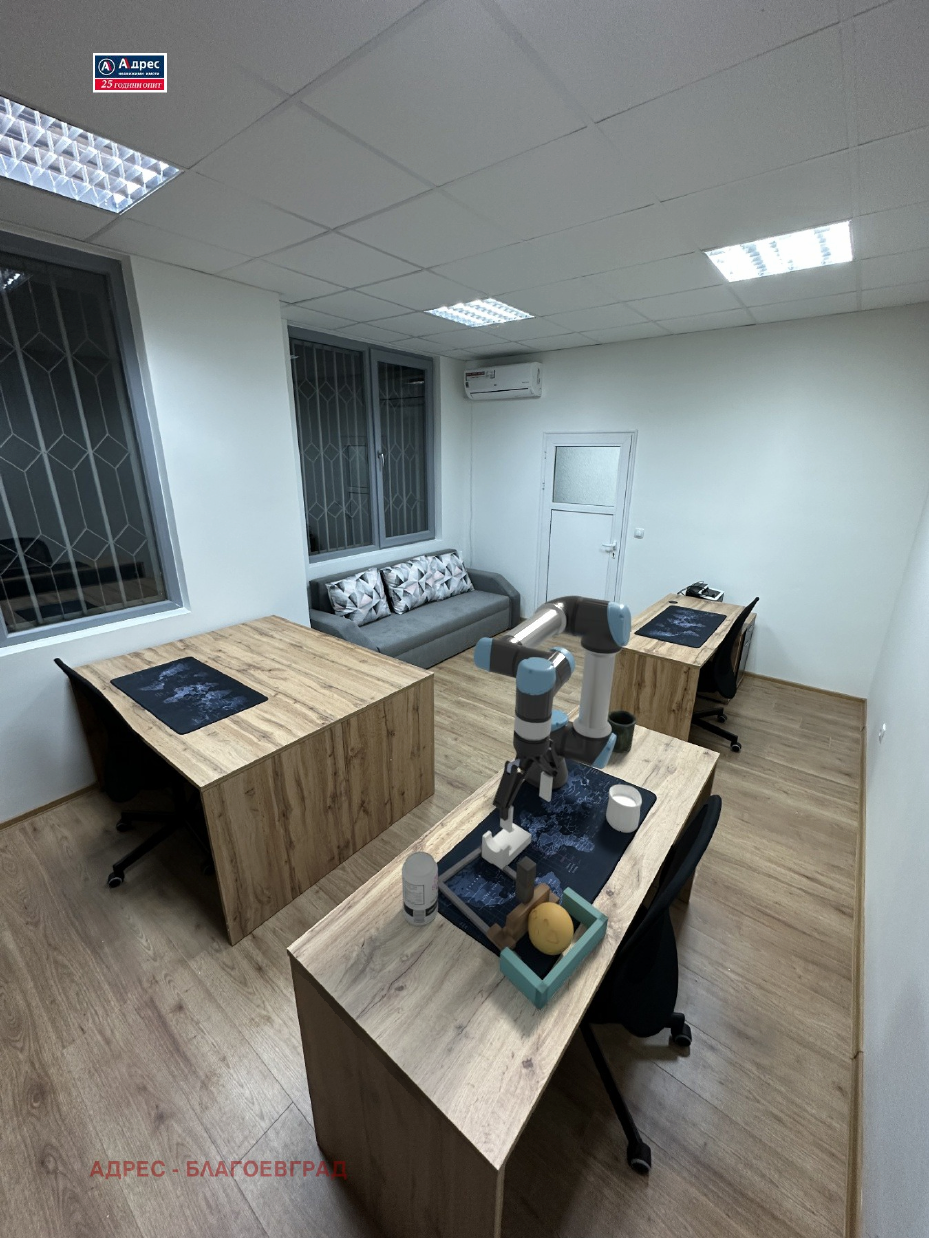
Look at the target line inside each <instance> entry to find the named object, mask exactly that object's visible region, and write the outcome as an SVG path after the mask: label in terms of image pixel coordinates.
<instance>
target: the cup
mask: <svg viewBox="0 0 929 1238" xmlns="http://www.w3.org/2000/svg"><path fill="white" fill-rule="evenodd" d="M642 803H643V800H642V794H641V793H640V792H639V791H638V789H637V788H635V787H634V786H632V785H628V784H627V785H626V784H614V785H612V786H611V787H610V788H609V791H608V803H607V807H606V813H605V816H606V817H605V818H606V821H607V823H609V825H610V826H611V827H612V828H613V829H614V830H616V831H618V832H620V831H621V833H626V834H628V833H632V832H634V831H635V830H637V829H638V826H639V823H640V815H641V811H640V810H641V807H642Z"/></svg>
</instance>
